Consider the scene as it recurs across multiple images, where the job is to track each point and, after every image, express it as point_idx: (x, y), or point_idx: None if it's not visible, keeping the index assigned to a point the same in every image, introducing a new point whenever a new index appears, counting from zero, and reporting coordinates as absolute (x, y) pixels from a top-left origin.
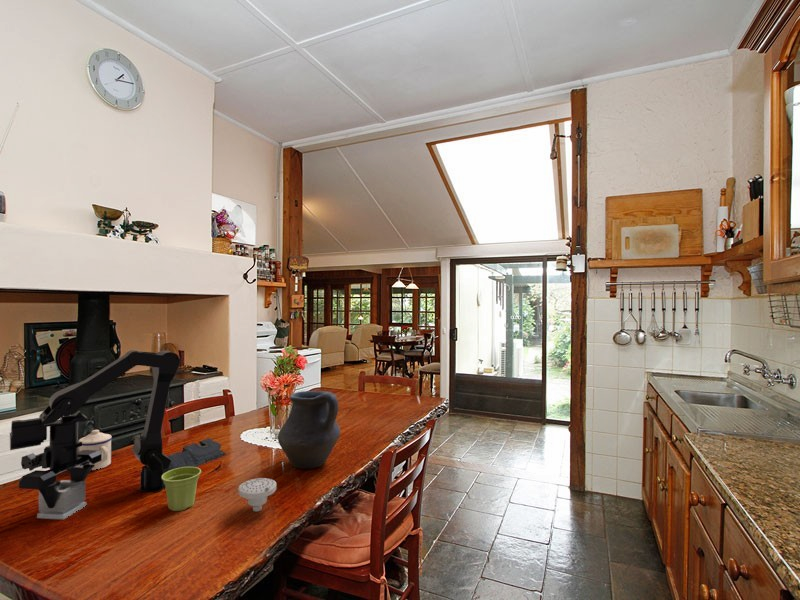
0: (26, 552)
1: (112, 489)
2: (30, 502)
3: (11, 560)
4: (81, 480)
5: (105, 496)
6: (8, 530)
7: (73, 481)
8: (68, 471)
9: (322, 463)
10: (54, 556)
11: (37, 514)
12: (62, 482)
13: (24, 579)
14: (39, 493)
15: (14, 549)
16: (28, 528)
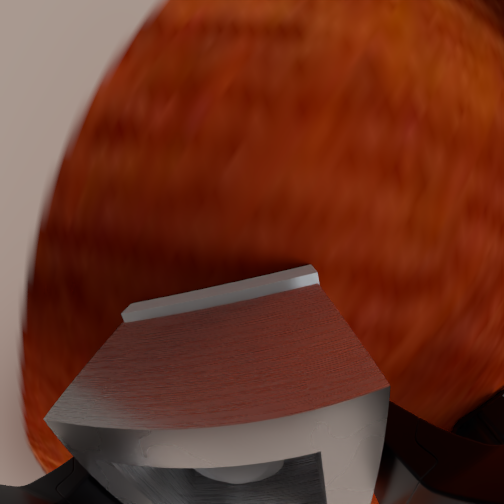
0: (55, 448)
1: (484, 328)
2: (261, 29)
3: (32, 439)
4: (379, 501)
5: (427, 376)
6: (29, 291)
7: (354, 492)
8: (460, 499)
9: None
10: None
11: (123, 313)
12: (319, 450)
13: None
14: (58, 409)
15: (35, 417)
16: (74, 359)
